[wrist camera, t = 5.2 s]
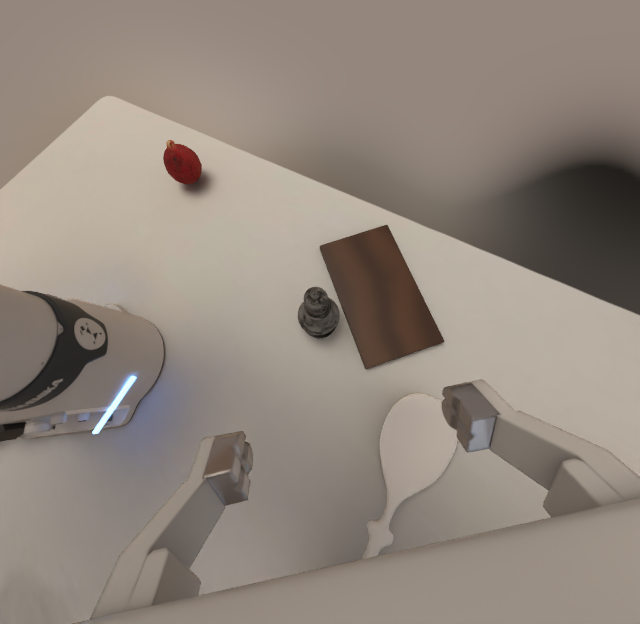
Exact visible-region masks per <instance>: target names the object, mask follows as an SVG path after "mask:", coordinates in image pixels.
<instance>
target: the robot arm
mask: <svg viewBox="0 0 640 624" xmlns="http://www.w3.org/2000/svg"><path fill="white" fill-rule="evenodd" d="M163 358H164V346H163V341H162V338H161V336H160V333H159V332H158V330H157V329H156V327H155V326H154V325H153V324H152V323H150V322H149V321H147V320H145V319H143V318H141V317H137V316H134V315H131V314H128V313H127V312H126V311H125V310H124V309H123V308H122V307H121V306H119V305H115V304H108V305H106V306H100V305H96V304H93V303H89V302H85V301H81V300H77V299H72V298H66V299H64V300H63V299H61V298H58V297H55V296H52V295H48V294H47V295H46V294H42V293H38V292H33V291H19V290H16V289H13V288H9V287H6V286H3V285H0V441H5V440H11V439H16V438H18V437H20V438H36V437H44V436H51V435H59V434H66V433H74V432H81V431H89V430H94V431H93V432H92V433H93V434H97V433H99V431H100V430H101V429H104V428H111V427H119V426H123V425H125V424H127V423H128V422H129V420H130V419H131V417H132V415H133V413H134V411H135V409H136V406H137V404H138V402H139V401H140V400H141V399H142V397H143V396H144V395H145V394H146V393H147V392H148V391H149V390H150V388H151V387H152V386H153V384H154V383H155V381H156V379H157V377H158V375H159V373H160V370H161V367H162V364H163ZM442 395H443V396H444V398H445V399H444V400H443V401H442V412H443V416H444V418H445V420H446V422H447V423H448V425H449V426H450V427H451V428H453V429H455V430H457V435H456V437H457V438H458V440H459V441H460V443H461V444H462V446H463V447H464V449H465V450H466V452H467V453H468V452H473V451H479V450H484V449H489V448H490V450H491V451H492V452H494V453H495V454H497V455H498V456H499V457H501V458H502V459H504V460H505V461H507V462H508V463H510V464H511V465H512V466H514V467H515V468H517V469H518V470H520V471H521V472H523V473H524V474H525V475H527V476H528V477H530V478H531V479H533V480H534V481H536V482H537V483H538V484H540V485H541V486H543V487H544V488H546V489H547V490H549V491H548V494H547V496H546V498H545V500H544V504H543V507H544V508H545V510H546V511H547V512H548V514H549V515H550V516H551V518H547V519H542V520H538V521H533V522H529V523H524V524H520V525H515V526H511V527H506V528H502V529H497V530H493V531H488V532H484V533H479V534H475V535H470V536H466V537H461V538H456V539H452V540H447V541H443V542H438V543H434V544H429V545H425V546H420V547H416V548H411V549H407V550H402V551H398V552H393V553H389V554H384V555H380V556H375V557H371V558H366V559H361V560H357V561H352V562H348V563H343V564H339V565H334V566H330V567H325V568H321V569H316V570H312V571H307V572H303V573H298V574H294V575H289V576H285V577H280V578H276V579H271V580H267V581H262V582H258V583H253V584H249V585H244V586H240V587H235V588H231V589H226V590H222V591H217V592H213V593H208V594H203V595H199V596H198V594H199V589H200V585H201V582H200V580H199V578H198V577H197V576H196V575H195V574H194V573H193V572H192V571H191V570H190V569H189V568H190V567H191V565H192V563H193V562H194V560H195V558H196V556H197V555H198V553H199V551H200V550H201V548H202V546H203V545H204V543H205V541H206V539H207V538H208V536H209V534H210V533H211V531H212V529H213V528H214V526H215V524H216V523H217V521H218V519H219V517H220V516H221V514H222V512H223V511H224V509H225V506H226V505H230V504H234V503H238V502H242V501H246V500H248V496H249V488H250V479H249V477H248V474H249V473H250V471H251V470H252V466H253V452H252V448H251V446H250V444H249V443H248V442H246V441H245V439H246V435H245V434H244V432H243V431H239V432H234V433H228V434H223V435H218V436H213V437H208V438H204V439H203V440H202V441H201V443H200V446H199V449H198V452H197V454H196V457H195V460H194V463H193V466H192V469H191V472H190V474H189V477H188V480H187V482H185V483H182V485H181V486H180V487H179V488H178V489H177V490H176V491H175V493H174V494H173V495H172V496H171V497H170V498H169V499H168V501H167V502H166V503H165V504H164V505H163V506H162V507H161V509H160V510H159V511H158V512H157V513H156V514H155V515H154V517H153V518H152V519H151V520H150V521H149V522H148V524H147V525H146V526H145V527H144V528H143V529H142V530H141V532H140V533H139V534H138V535H137V536H136V537H135V538H134V540H133V541H132V542H131V543H130V544H129V545H128V546H127V548H126V549H125V550H124V551H123V552H122V553H121V554H120V556H119V557H118V559H117V561H116V564H115V566H114V568H113V570H112V572H111V574H110V577H109V579H108V581H107V583H106V585H105V587H104V590H103V592H102V594H101V596H100V598H99V600H98V602H97V605H96V607H95V609H94V611H93V613H92V615H91V618H90V620H86V621H82V622H77V623H73V624H640V477H639V476H638V475H637V474H636V473H634V472H633V471H632V470H631V469H630V468H628V467H627V466H626V465H625V464H624V463H622V462H621V461H620V460H619V459H618V458H616V457H615V456H614V455H613V454H612V453H610V452H609V451H608V450H606V449H604V448H602V447H600V446H597V445H595V444H593V443H591V442H588V441H586V440H584V439H582V438H579V437H577V436H575V435H573V434H570V433H568V432H566V431H564V430H562V429H559V428H557V427H555V426H553V425H550V424H548V423H546V422H544V421H541V420H539V419H537V418H535V417H532V416H530V415H528V414H526V413H524V412H521V411H515V410H514V409H513V408H512V407H511V406H510V405H509V404H508V403H507V402H506V401H505V400H504V399H503V398H502V397H501V396H500V395H499V394H498V393H497V392H496V391H495V390H493V389H492V388H491V387H490V386H489V385H488V384H487V383H486V382H485V381H484V380H482V379H481V380H477V381H472V382H466V383H462V384H457V385H453V386H449V387H444V389H443V392H442ZM112 416H113V420H112V419H111V418H112Z"/></svg>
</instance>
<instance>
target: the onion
mask: <svg viewBox="0 0 640 624" xmlns="http://www.w3.org/2000/svg"><path fill="white" fill-rule="evenodd" d="M164 164H165V167H166V170H167V172H168V173H169V174H170V175H171V176H172V177H173V178H174V179H175V180H176V181H178V182H180V183H183V184H193V183H195V182H196V181H197V180H198V179H199V177H200V175H201V166H202V165H201V163H200V160H199V158H198V156H197V155H196V153H195V152H194V151H192V150H191V149H189V148H188V147H186V146H184V145H181V144H174V141H172V140H168V141H167V149H166V150H165V152H164Z"/></svg>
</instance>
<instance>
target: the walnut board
mask: <svg viewBox="0 0 640 624" xmlns="http://www.w3.org/2000/svg"><path fill="white" fill-rule="evenodd" d="M320 251H321V253H322V256H323V258H324V261H325V264H326V266H327V269H328V272H329V274H330V277H331V280H332V282H333V285H334V287H335V290H336V293H337V295H338V298H339V301H340V303H341V306H342V309H343V311H344V314H345V316H346V319H347V322H348V324H349V327H350V330H351V332H352V335H353V338H354V340H355V343H356V345H357V348H358V351H359V353H360V356H361V359H362V361H363V364H364V367H365V369H368V368H370V367H373V366H376V365H379V364H382V363H385V362H388V361H391V360H394V359H396V358H399V357H402V356H405V355H408V354H411V353H414V352H417V351H419V350H422V349H425V348H428V347H431V346H434V345H437V344H440V343H442V342H444V339H443V337H442V335H441V333H440V331H439V329H438V327H437V325H436V323H435V321H434V319H433V317H432V315H431V313H430V311H429V309H428V307H427V305H426V303H425V301H424V299H423V297H422V295H421V293H420V291H419V289H418V286H417V284H416V282H415V280H414V278H413V276H412V274H411V272H410V270H409V268H408V266H407V264H406V262H405V260H404V258H403V256H402V254H401V252H400V250H399V248H398V246H397V244H396V242H395V240H394V238H393V236H392V233H391V231H390V229H389V227H388V225H384V226H381V227H378V228H375V229H372V230H369V231H365V232H362V233H359V234H356V235H353V236H350V237H346V238H343V239H340V240H337V241H334V242H331V243H327V244H324V245H321V246H320Z"/></svg>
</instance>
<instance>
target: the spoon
mask: <svg viewBox="0 0 640 624" xmlns="http://www.w3.org/2000/svg"><path fill="white" fill-rule="evenodd" d="M456 435H457V430H455V429H453V428H451V427H450V426H449V425H448V423H447V422H446V420H445V418H444V416H443V412H442V402H441V401H440V400H438V399H437V398H435V397H432V396H430V395H427V394H423V393H414V394H410V395H407V396H405V397H404V398H402V399H401V400H399V401H398V402H397V403H396V404H395V405H394V406H393V407H392V408H391V410H390V411H389V413H388V415H387V417H386V419H385V421H384V424H383V427H382V431H381V435H380V458H381V464H382V469H383V474H384V479H385V483H386V489H387V501H386V506H385V510H384V513H383V515H382V517H381V518H380V519H379V520H377V521H375V520H371V521H370V522H369V523H368V525H367V531H368V533H369V541H368V544H367V547H366V550H365V552H364V554H363V556H362V558H361V559H366V558H371V557H375V556H377V555H378V554H379V552H380V550H381V549H382V548H383V547H385V546H390V545H391V544H392V542H393V538H394V536H393V534H392V533H391V531H390V529H389V525H390V521H391V519H392V516H393V514H394V512H395V511H396V509H397V507H398V506H399V505H400V504H401V503H402V502H403V501H404V500H405V499H407V498H408V497H410V496H412V495H414V494H416V493H417V492H419V491H421V490H423V489H425V488H426V487H428V486H429V485H431V484H432V483H434V482H435V481H436V480H437V479H438V478H439V477H440V476H441V475H442V473H443V472H444V470H445V469H446V467H447V466H448V464H449V462H450V460H451V459H452V456H453V454H454V452H455V449H456V445H457V439H458V438H457V437H456Z"/></svg>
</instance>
